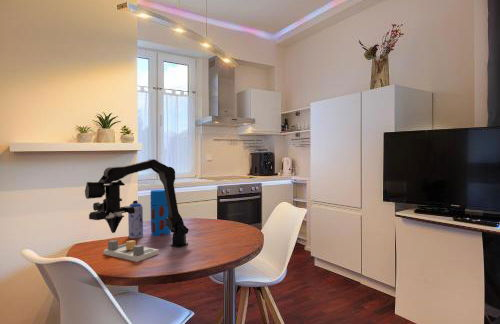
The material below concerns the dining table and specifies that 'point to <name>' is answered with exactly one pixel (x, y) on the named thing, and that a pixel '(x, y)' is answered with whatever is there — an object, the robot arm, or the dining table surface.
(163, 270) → the dining table surface
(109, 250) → the breaker panel
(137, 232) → the aerosol can
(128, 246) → the handle
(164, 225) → the tall blue box
